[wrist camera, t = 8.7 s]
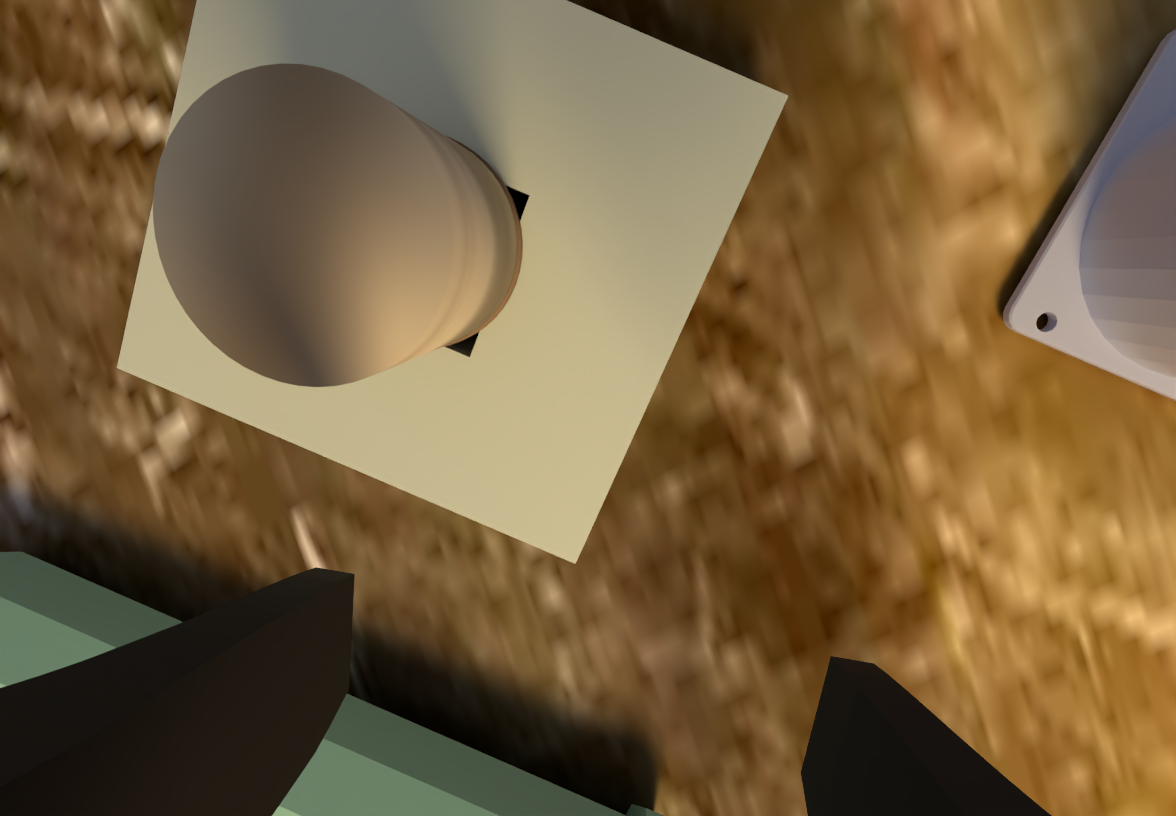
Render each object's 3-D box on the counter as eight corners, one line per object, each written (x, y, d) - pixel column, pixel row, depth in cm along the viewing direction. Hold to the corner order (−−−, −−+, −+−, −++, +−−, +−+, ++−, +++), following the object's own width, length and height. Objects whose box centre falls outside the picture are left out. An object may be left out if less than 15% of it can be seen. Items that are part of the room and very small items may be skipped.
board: (768, 119, 17) (788, 95, 14) (584, 527, 20) (575, 563, 18) (289, -87, 17) (228, -146, 14) (181, 355, 20) (116, 367, 18)
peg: (565, 191, 18) (499, 136, 10) (501, 363, 19) (399, 435, 11) (391, 119, 18) (186, 6, 10) (339, 296, 19) (122, 321, 11)
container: (-225, 724, 17) (607, 1094, 17) (-108, 523, 18) (687, 871, 18) (-27, 666, 23) (595, 940, 23) (55, 516, 24) (656, 778, 24)
